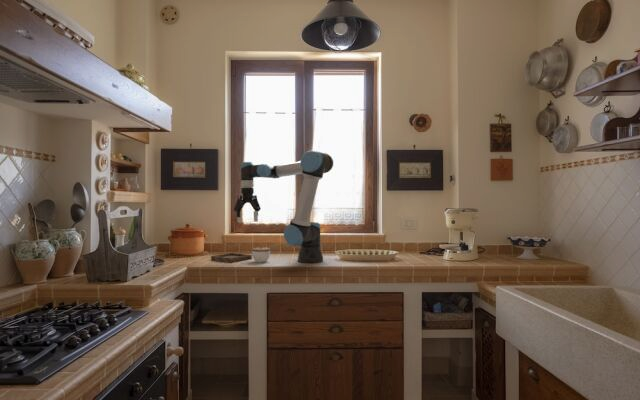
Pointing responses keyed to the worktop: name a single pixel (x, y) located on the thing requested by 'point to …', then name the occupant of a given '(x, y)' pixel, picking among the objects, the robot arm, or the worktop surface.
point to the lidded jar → (261, 254)
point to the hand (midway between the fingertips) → (247, 222)
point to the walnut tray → (231, 257)
